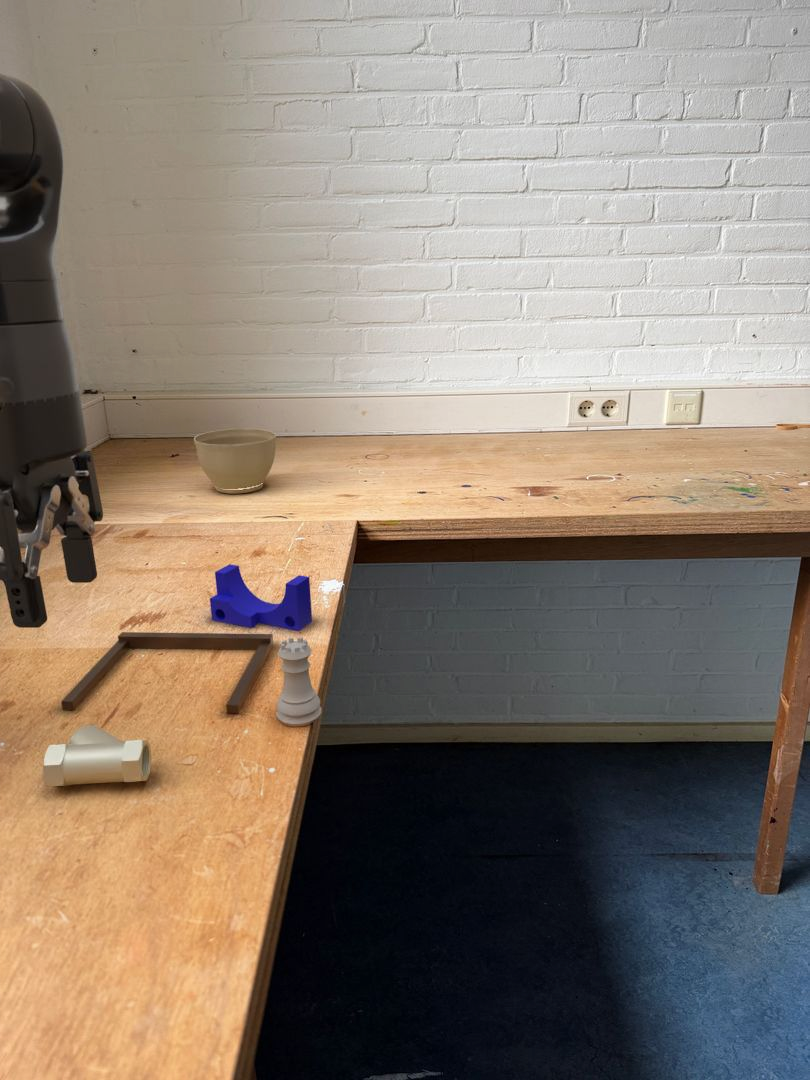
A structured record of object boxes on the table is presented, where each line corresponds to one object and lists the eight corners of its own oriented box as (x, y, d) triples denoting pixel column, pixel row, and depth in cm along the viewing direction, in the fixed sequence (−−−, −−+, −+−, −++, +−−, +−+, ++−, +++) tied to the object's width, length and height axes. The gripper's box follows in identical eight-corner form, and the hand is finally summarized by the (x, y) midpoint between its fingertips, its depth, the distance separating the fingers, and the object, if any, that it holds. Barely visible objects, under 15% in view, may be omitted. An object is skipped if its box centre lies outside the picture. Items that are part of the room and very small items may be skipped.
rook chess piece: (331, 712, 79) (327, 639, 77) (301, 733, 76) (296, 657, 73) (297, 700, 82) (292, 628, 79) (267, 719, 78) (260, 646, 76)
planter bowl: (219, 504, 152) (213, 447, 148) (187, 487, 164) (181, 435, 161) (294, 489, 160) (290, 436, 157) (258, 474, 173) (254, 425, 169)
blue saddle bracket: (212, 620, 101) (207, 576, 99) (233, 607, 105) (229, 564, 103) (292, 636, 96) (289, 589, 94) (312, 621, 100) (309, 576, 98)
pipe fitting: (73, 756, 74) (46, 797, 67) (68, 717, 73) (40, 755, 66) (161, 751, 74) (143, 791, 68) (157, 713, 73) (138, 749, 67)
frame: (62, 710, 81) (60, 696, 80) (123, 643, 95) (121, 631, 95) (238, 713, 79) (237, 700, 79) (273, 645, 94) (272, 633, 93)
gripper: (21, 377, 63) (55, 569, 68) (-96, 406, 49) (-43, 643, 55) (114, 375, 62) (140, 569, 68) (21, 404, 49) (63, 643, 54)
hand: (58, 602), depth 61 cm, fingers open, 8 cm apart
